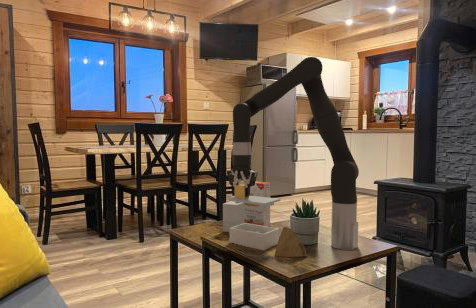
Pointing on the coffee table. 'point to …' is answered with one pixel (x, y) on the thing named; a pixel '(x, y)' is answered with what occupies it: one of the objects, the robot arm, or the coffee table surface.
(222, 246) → the coffee table surface
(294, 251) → the rock
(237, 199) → the lid
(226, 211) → the supplement box
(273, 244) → the tub
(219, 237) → the coffee table surface
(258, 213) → the cracker box
